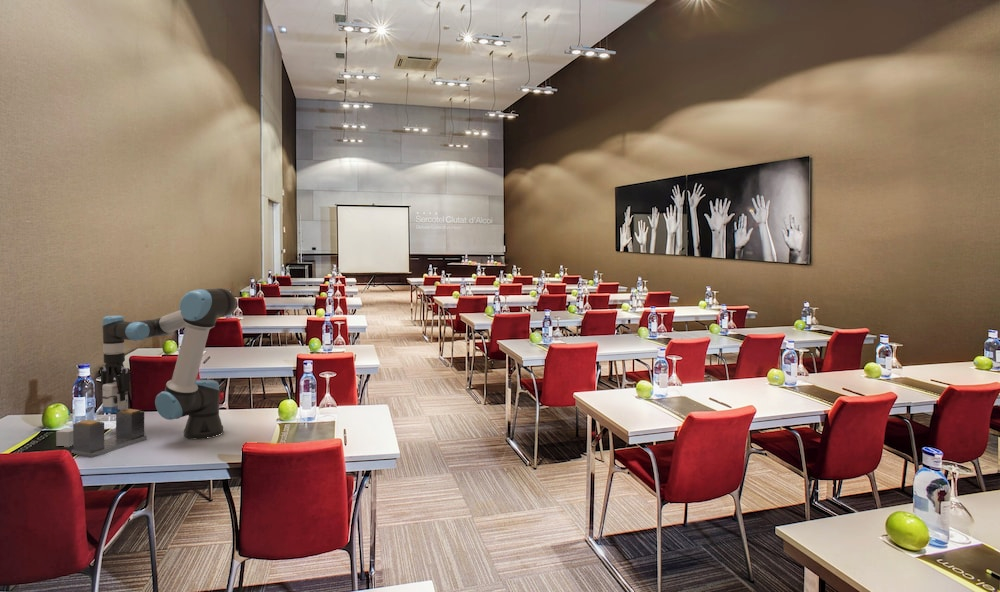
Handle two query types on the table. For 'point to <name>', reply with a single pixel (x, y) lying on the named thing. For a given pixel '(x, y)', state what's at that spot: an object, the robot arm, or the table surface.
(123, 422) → the grey block holder
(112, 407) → the ink box
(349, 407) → the table surface
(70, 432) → the block
